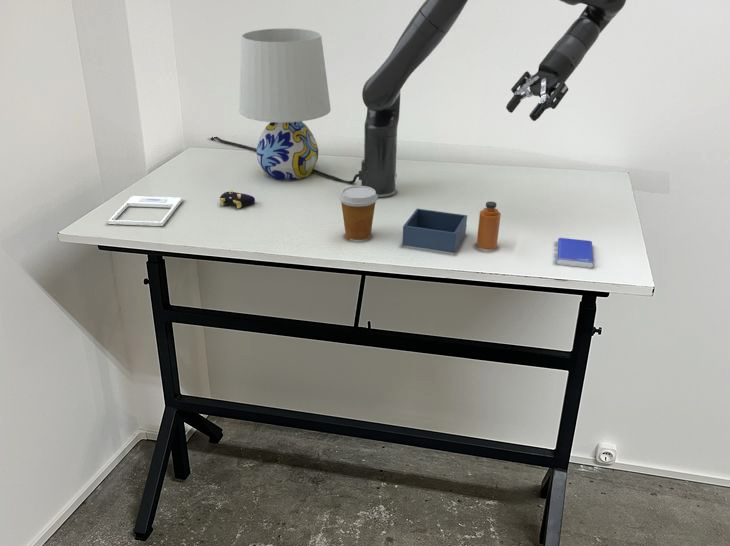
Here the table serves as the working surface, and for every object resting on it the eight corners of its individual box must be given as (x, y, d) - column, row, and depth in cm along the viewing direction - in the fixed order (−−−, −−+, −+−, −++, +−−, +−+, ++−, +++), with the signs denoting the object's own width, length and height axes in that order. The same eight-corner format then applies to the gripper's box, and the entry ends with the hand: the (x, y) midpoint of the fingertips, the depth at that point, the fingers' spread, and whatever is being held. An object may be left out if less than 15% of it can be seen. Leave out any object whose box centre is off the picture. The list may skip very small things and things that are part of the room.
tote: (402, 247, 177) (403, 226, 174) (415, 228, 186) (416, 208, 183) (454, 255, 173) (455, 233, 170) (465, 235, 182) (467, 215, 179)
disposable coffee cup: (348, 247, 177) (348, 201, 170) (333, 232, 184) (333, 188, 177) (383, 240, 180) (384, 195, 173) (367, 226, 187) (367, 182, 181)
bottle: (474, 249, 175) (478, 205, 169) (478, 241, 179) (483, 198, 173) (494, 252, 174) (499, 208, 168) (498, 244, 178) (503, 201, 172)
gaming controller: (257, 198, 201) (248, 189, 196) (251, 216, 200) (241, 207, 195) (228, 193, 205) (218, 184, 199) (222, 210, 204) (212, 201, 198)
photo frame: (181, 197, 202) (161, 221, 187) (182, 200, 202) (162, 225, 187) (131, 195, 203) (107, 220, 188) (132, 199, 203) (108, 223, 188)
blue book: (593, 262, 166) (592, 240, 176) (557, 258, 168) (558, 237, 178) (592, 268, 167) (591, 246, 177) (556, 264, 169) (557, 243, 179)
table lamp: (283, 153, 238) (276, 24, 217) (349, 169, 225) (348, 32, 203) (226, 176, 220) (212, 36, 198) (294, 194, 207) (286, 47, 185)
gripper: (535, 44, 174) (493, 98, 176) (577, 54, 164) (532, 111, 165) (548, 64, 179) (508, 117, 181) (590, 75, 169) (546, 131, 170)
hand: (519, 114), depth 173 cm, fingers open, 8 cm apart
